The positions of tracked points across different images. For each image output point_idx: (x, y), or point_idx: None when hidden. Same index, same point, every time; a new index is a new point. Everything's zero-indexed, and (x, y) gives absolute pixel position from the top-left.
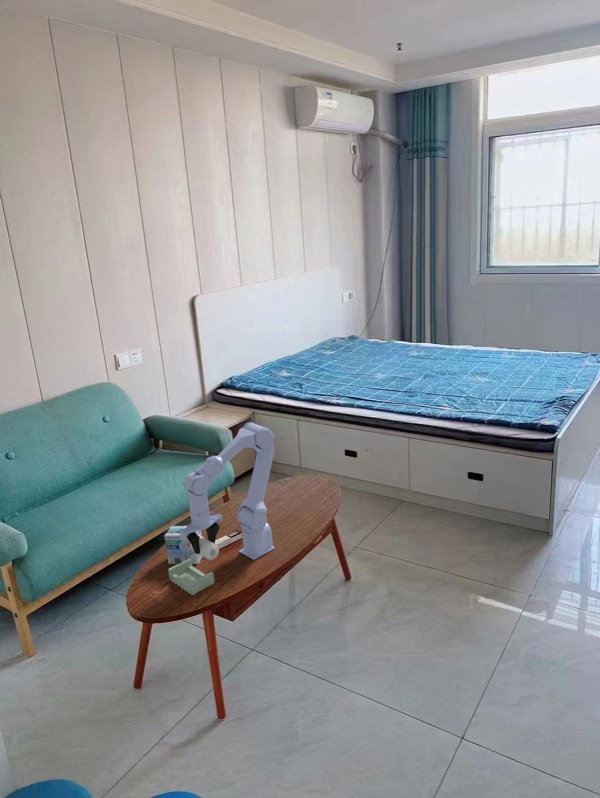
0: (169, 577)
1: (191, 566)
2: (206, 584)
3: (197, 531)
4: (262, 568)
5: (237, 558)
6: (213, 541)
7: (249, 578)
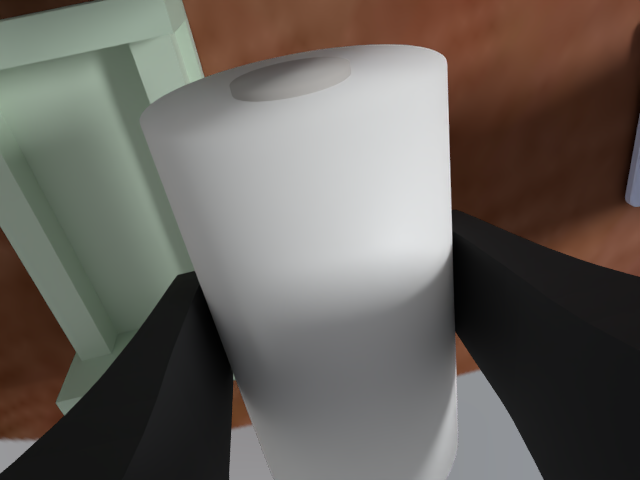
0: None
1: (165, 56)
2: None
3: None
4: None
5: (575, 101)
6: (481, 361)
7: (465, 351)
